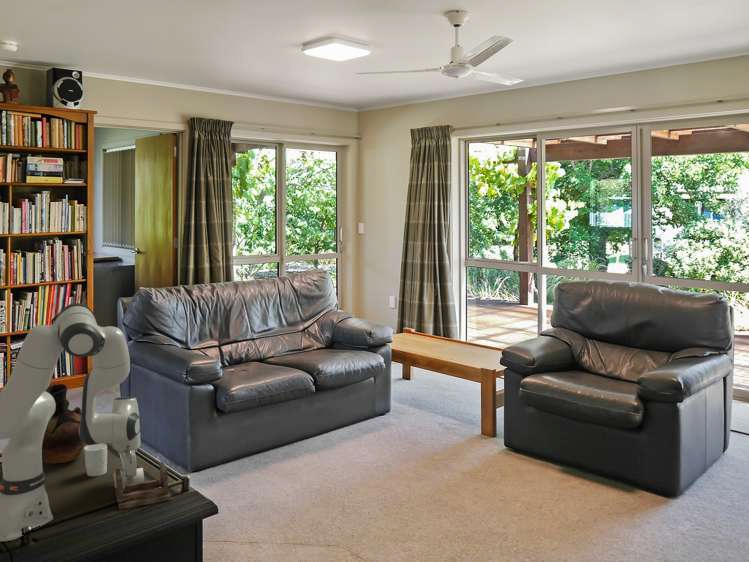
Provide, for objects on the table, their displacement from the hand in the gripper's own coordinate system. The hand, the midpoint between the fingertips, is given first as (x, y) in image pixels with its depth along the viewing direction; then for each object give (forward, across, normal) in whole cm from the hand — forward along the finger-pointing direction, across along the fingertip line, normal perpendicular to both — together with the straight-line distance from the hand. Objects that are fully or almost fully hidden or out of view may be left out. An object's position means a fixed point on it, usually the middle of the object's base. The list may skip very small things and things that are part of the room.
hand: (129, 480), depth 240 cm
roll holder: (+2, -12, -3) cm, 13 cm away
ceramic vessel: (+2, +36, +20) cm, 41 cm away
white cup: (+2, +17, +10) cm, 20 cm away
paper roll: (+2, 0, 0) cm, 2 cm away
